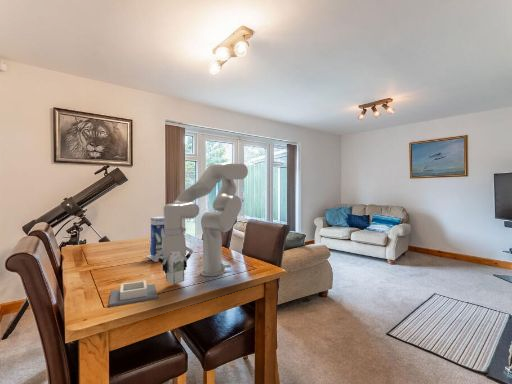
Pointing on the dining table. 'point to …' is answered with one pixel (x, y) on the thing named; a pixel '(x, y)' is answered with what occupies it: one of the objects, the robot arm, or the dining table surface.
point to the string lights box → (156, 236)
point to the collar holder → (132, 293)
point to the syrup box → (175, 268)
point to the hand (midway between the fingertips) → (175, 270)
